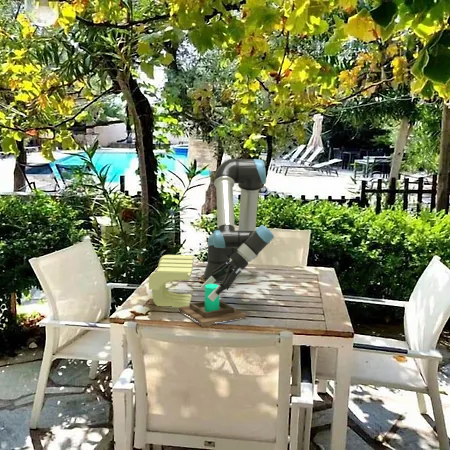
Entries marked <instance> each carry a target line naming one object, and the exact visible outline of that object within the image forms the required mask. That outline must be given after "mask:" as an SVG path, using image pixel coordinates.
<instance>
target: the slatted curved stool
mask: <svg viewBox="0 0 450 450" xmlns="http://www.w3.org/2000/svg"><path fill="white" fill-rule="evenodd" d="M194 259H195V258H194V255H192V254H191V255H186V254H185V255H184V254H183V255H182V254H165V255H162V256H161V257H160V258H159V260H158V264H157V269H156V271H154V272H152V273H151V274H150V276H149V277H148V290H152V292H151V293H152V301H153V303H154V304H155V306H157V307H159V306H172V307H171V308H179V307H183V306H189V305H190V304H191V303H192V299H191V298H192V296H193V295H192V294H186V293H185V294H184V293H175V292H172V291H169V290H168V289H167V286H166V285H167V283H171V282H176V281H190V279H191V276H192V273H193V266H194Z"/></svg>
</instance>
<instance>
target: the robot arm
mask: <svg viewBox="0 0 450 450" xmlns="http://www.w3.org/2000/svg"><path fill="white" fill-rule="evenodd" d="M265 166H266V165H265V161H264V160H262V159H256V158H254V159H253V158H230V159H227V160H225V161H224V162H222V163H221V164H220V165H219V166H218V167H217V170H216V171H215V173H214V176H213V186H214V187H215V188H216V189H215V190H216V193H215V194H216V212H217V213H216V214H217V215H216V218H217V220H216V221H217V223H216V225H217V230H213V233H212V234H210V235H209V236H208V239H207V264H206V266H205V269H204V273H203V278H204V279H205V278H206V279H205V280H206V281H205V282H203V284H202V285H201V286H200V288H201V289H202V290H203V291H204V292H205V285H207V284H211V283H212V282H213V284H215V283H216V282H221V283H219V286H218V287H217V288H216V289H215V290H214V291H213V292H212V293H211V294H210V295H209V296H208V298H209V299H211V300H212V301H214V300H215V299H216V298H217V297H218V296H219V297H220V295H221V294H223V292H224V291H228V290H229V289H230V288H231V286H232V285H233V283H234V282H235V280H236V278H237V277H238V276H239V274H240V273H242V270H244V269H245V268H246V267H247V266H248V265H249V263H251V261H253V260H255V259H256V258H257V257H258V256H259V254H260V253H261V252H262V250H264V248H266V246H267V245H268V244H270V243H271V241H272V240H273V239H274V237H275V236H274V234H273V232H272V231H271V230H270V229H269V228H268V227H266V226H265V225H260V226H259V227H257V228H256V226H257V213H258V205H259V203H258V202H259V201H258V200H259V193H260V190H262V188H263V185H265V184H267V183H266V182H267V175H266V174H267V173H266V172H267V171H266V167H265ZM235 184H237V187H238V188H239V189H240V200H239V201H240V202H239V215H238V218H239V219H238V230H237V229H235V227H236V226H235V209H234V208H235V207H234V189H233V187H234V186H235ZM240 269H241V270H240Z"/></svg>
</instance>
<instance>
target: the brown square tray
mask: <svg viewBox="0 0 450 450" xmlns="http://www.w3.org/2000/svg"><path fill="white" fill-rule="evenodd" d="M179 311H180V312H182V313H184V314H186V315H188V316H190V317H191V318H193V319H195V320H196V321H198V322H199V323H201V326H200V327H201V328H207V327H208V326H207V325H208V324H211V323H215V322H223V321H230V320H235V319H240V318H244V319H246V313H245V312H243V311H242V310H240V309H238V308H236V307H233V306H232V305H230V304H228V303H226V302H224V301H222V300H221V299H219V310H215V311H210V312H206V311H205V300H204V301H203V300H202V301H197V302H190V305H189V306H183V307H178V312H179ZM180 312H179V313H180ZM240 320H241V319H240ZM235 321H236V320H235ZM230 322H231V321H230ZM206 326H207V327H206Z"/></svg>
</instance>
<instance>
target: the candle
mask: <svg viewBox="0 0 450 450" xmlns="http://www.w3.org/2000/svg"><path fill="white" fill-rule="evenodd" d="M218 286H219V285H218V284H216V283H213V282H212V283H211V284H207V285H205V291H204V301H205V311H206V312H210V311H215V310H219V300H220V295H219V296H218V297H217V298H216V299H215V300H214V301H212V300H211V299H209V298H208V296H209V295H210V294H211V293H212V292H213V291H214V290H215V289H216V288H217V287H218Z"/></svg>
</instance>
